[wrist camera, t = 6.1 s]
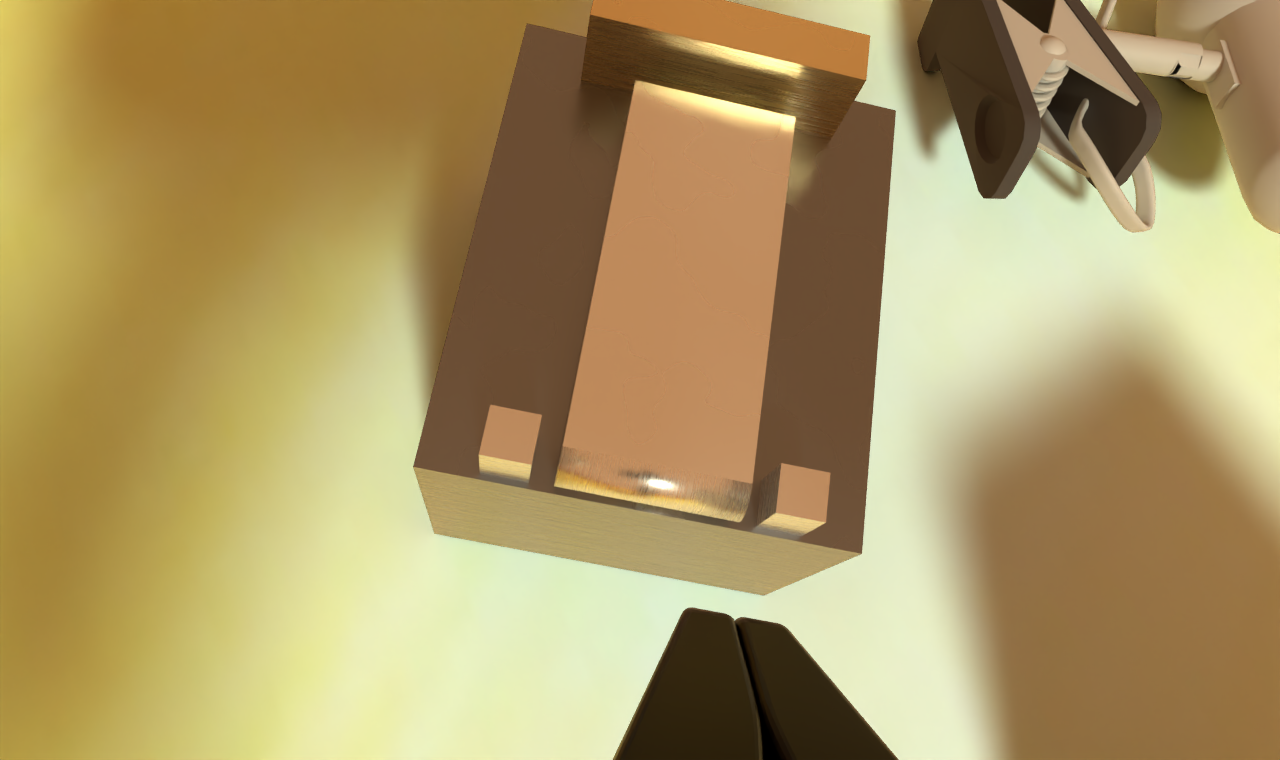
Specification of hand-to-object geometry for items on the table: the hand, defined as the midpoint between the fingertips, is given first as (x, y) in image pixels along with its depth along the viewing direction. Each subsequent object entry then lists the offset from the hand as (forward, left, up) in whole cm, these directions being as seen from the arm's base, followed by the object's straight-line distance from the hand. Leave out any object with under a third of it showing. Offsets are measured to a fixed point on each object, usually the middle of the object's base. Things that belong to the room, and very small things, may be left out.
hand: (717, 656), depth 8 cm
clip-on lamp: (+24, +6, -13) cm, 28 cm away
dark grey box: (+5, +5, -13) cm, 15 cm away
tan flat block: (+5, +4, -7) cm, 9 cm away
